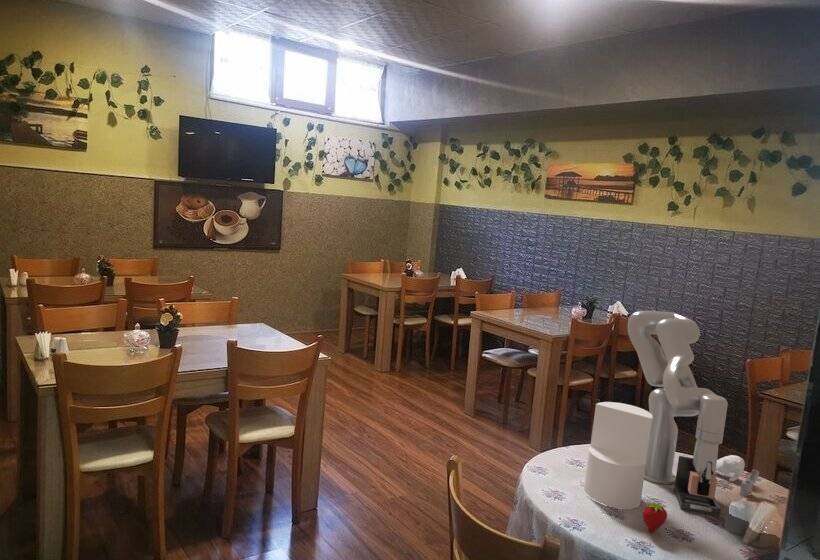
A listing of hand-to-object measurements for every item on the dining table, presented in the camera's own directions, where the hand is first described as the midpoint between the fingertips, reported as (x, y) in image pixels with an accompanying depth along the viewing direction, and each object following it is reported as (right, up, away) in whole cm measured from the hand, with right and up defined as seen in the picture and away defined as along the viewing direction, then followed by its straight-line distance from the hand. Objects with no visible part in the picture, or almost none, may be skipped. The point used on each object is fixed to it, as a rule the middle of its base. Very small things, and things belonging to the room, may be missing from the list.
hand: (701, 491), depth 189 cm
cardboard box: (0, -1, 0) cm, 1 cm away
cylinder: (-27, -3, +4) cm, 27 cm away
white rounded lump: (+21, -4, +28) cm, 35 cm away
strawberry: (-22, -6, -17) cm, 28 cm away
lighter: (+23, -6, +15) cm, 28 cm away
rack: (0, -5, +4) cm, 7 cm away
